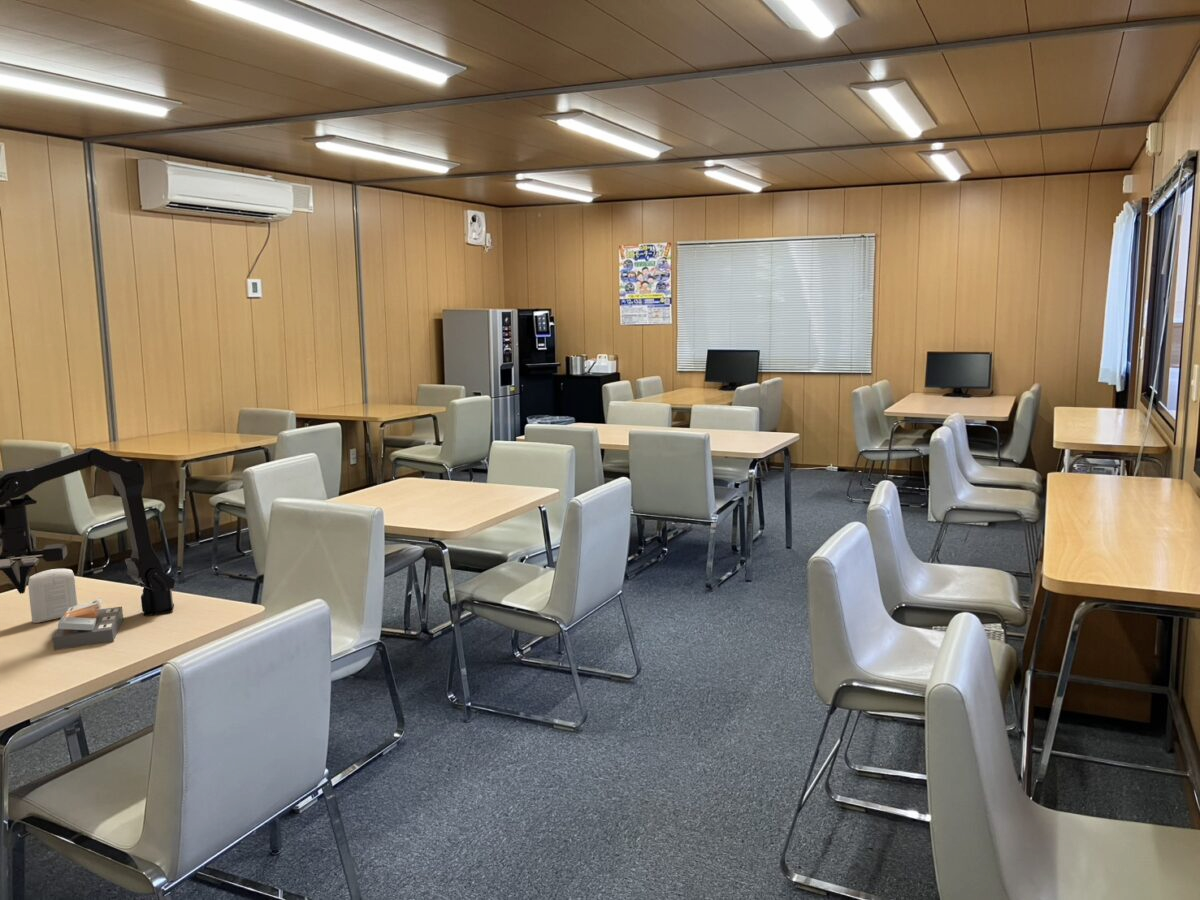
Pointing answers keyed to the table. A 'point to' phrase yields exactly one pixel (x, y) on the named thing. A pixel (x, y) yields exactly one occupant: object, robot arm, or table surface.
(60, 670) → the table surface
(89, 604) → the ivory rocker
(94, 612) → the orange box with knob
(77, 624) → the grey-blue rocker
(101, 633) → the power strip
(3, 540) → the robot arm
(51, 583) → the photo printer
